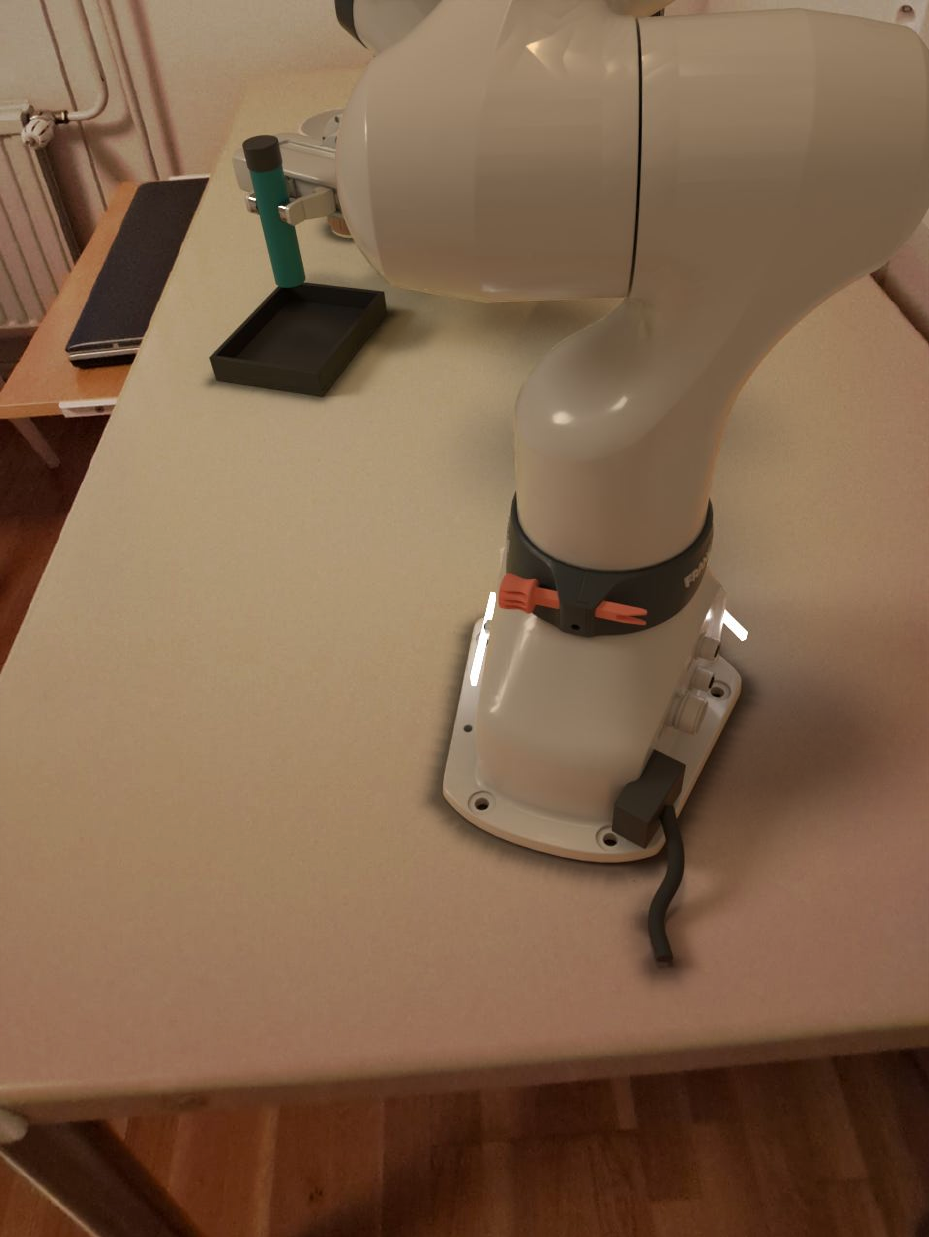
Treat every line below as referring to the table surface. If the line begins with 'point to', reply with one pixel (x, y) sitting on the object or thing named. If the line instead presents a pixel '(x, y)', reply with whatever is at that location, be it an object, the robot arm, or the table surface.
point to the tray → (300, 338)
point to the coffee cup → (315, 129)
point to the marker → (274, 208)
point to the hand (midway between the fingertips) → (267, 211)
